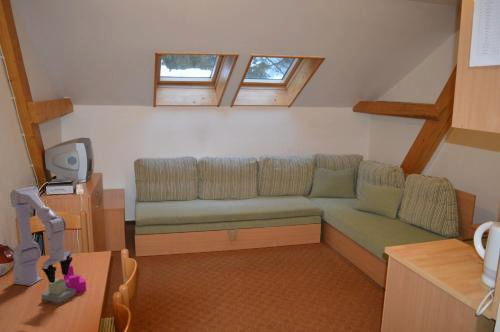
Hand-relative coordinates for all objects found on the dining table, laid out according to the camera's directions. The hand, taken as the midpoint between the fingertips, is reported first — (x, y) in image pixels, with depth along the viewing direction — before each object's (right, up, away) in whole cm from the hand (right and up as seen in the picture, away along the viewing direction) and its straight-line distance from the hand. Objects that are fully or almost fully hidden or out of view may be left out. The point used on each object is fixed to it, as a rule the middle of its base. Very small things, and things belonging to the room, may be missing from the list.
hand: (58, 278), depth 166 cm
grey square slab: (0, -10, +1) cm, 10 cm away
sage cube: (0, -6, 0) cm, 6 cm away
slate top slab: (0, -8, +1) cm, 8 cm away
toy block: (+1, -7, +12) cm, 14 cm away
